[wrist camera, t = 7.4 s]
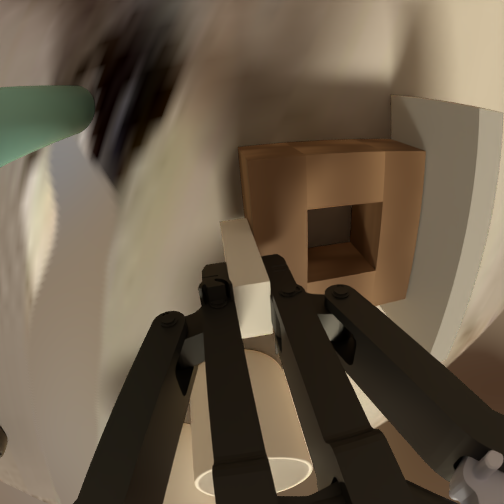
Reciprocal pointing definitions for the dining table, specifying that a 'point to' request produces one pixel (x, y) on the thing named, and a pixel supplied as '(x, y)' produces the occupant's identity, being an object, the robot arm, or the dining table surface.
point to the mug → (184, 475)
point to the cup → (271, 423)
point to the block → (331, 195)
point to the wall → (446, 213)
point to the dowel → (40, 117)
